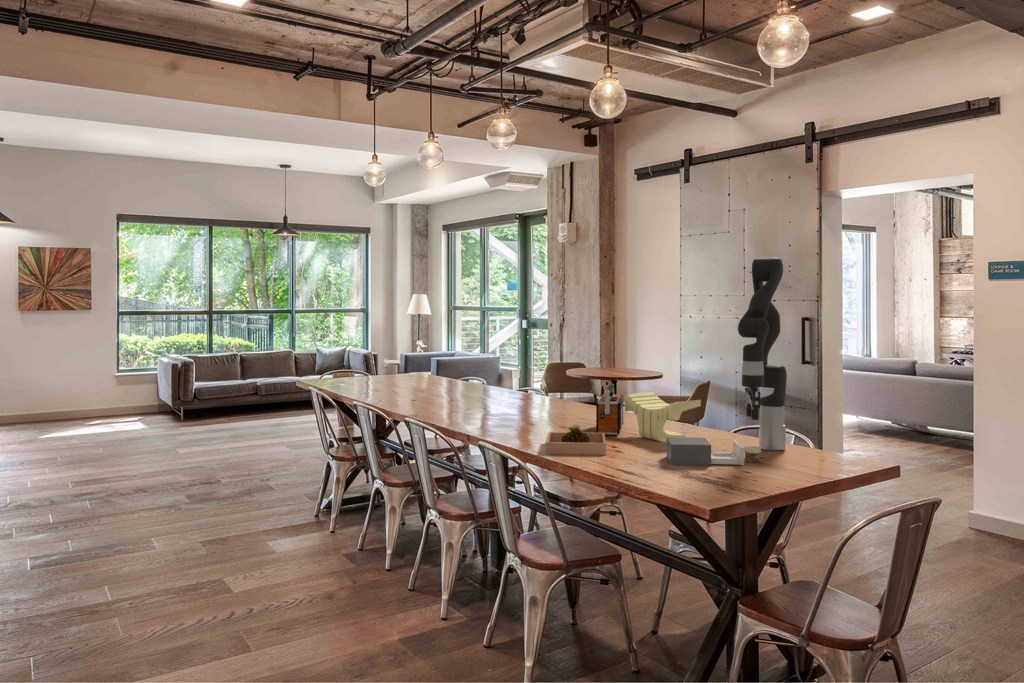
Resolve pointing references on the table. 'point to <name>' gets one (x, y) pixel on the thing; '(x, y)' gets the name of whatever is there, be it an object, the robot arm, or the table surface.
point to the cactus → (575, 435)
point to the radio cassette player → (609, 412)
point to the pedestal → (751, 458)
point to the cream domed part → (752, 449)
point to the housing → (688, 451)
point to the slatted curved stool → (656, 414)
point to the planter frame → (576, 444)
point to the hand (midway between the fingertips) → (752, 417)
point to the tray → (729, 456)
